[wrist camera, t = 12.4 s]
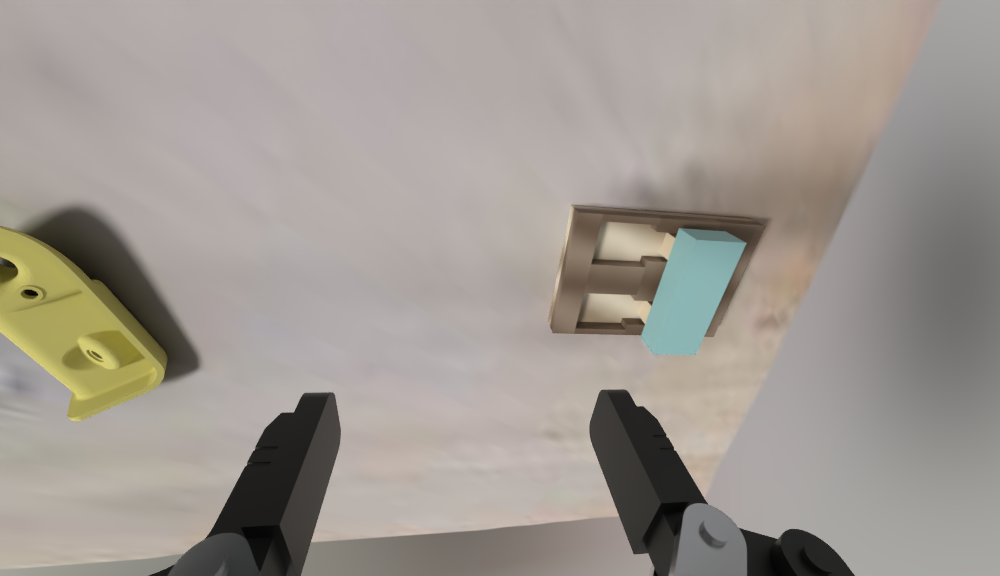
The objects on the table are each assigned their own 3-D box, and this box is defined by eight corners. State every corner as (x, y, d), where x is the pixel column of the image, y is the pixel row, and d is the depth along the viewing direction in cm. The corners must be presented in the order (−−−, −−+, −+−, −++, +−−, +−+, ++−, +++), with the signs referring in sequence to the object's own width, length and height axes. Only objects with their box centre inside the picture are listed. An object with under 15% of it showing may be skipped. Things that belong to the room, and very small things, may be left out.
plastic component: (175, 379, 40) (55, 431, 36) (182, 343, 45) (78, 385, 41) (11, 206, 28) (-188, 254, 25) (47, 185, 34) (-112, 222, 30)
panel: (666, 219, 38) (696, 239, 33) (710, 222, 39) (746, 242, 34) (631, 324, 44) (653, 354, 39) (670, 325, 45) (695, 354, 40)
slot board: (571, 205, 37) (578, 212, 35) (749, 218, 40) (765, 226, 38) (548, 321, 44) (552, 333, 42) (701, 325, 47) (713, 336, 45)
